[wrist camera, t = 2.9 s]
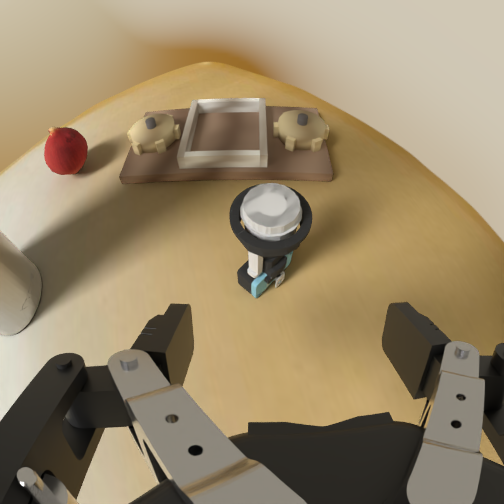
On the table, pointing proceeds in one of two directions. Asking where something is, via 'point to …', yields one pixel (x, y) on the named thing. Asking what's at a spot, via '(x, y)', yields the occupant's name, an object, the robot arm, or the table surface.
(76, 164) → the onion
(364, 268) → the table surface
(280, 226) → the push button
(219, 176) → the gear board
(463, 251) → the table surface
